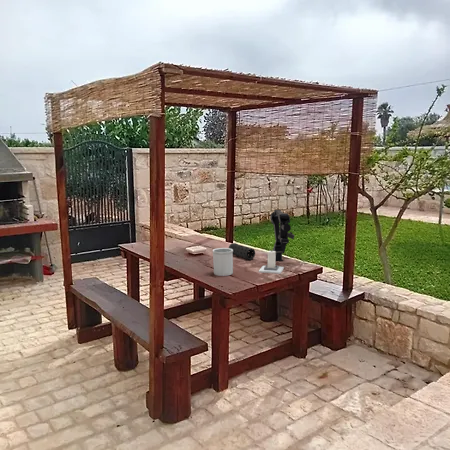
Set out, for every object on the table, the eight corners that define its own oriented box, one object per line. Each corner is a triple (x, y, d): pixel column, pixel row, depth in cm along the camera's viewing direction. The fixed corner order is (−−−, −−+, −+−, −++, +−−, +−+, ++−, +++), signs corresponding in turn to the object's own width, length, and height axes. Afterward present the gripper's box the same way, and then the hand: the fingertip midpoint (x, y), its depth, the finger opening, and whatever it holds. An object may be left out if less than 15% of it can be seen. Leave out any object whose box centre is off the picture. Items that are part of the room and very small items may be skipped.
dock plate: (263, 267, 329) (263, 263, 329) (283, 268, 325) (283, 264, 325) (258, 272, 314) (258, 268, 314) (280, 273, 310) (280, 270, 309)
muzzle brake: (246, 261, 349) (246, 248, 347) (227, 255, 372) (227, 243, 371) (255, 259, 354) (255, 247, 352) (236, 253, 377) (236, 242, 376)
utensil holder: (215, 277, 303) (215, 252, 300) (210, 271, 317) (210, 248, 314) (235, 275, 307) (235, 251, 304) (229, 270, 321) (229, 247, 318)
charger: (268, 267, 323) (268, 250, 321) (275, 268, 321) (275, 250, 319) (267, 269, 318) (267, 251, 316) (274, 269, 316) (274, 252, 314)
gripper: (295, 231, 324) (295, 251, 326) (292, 227, 342) (291, 246, 345) (281, 231, 324) (280, 251, 326) (278, 227, 342) (277, 247, 345)
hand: (283, 249), depth 335 cm, fingers open, 9 cm apart
